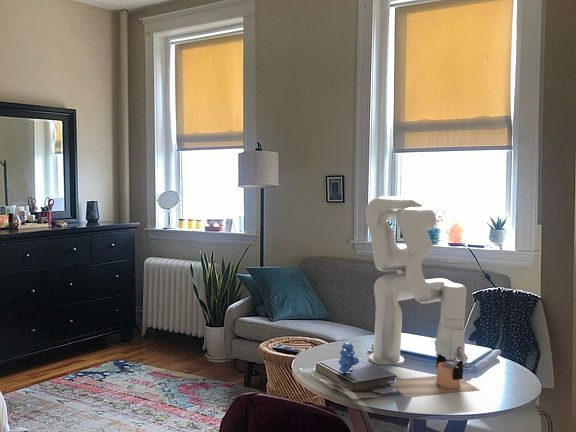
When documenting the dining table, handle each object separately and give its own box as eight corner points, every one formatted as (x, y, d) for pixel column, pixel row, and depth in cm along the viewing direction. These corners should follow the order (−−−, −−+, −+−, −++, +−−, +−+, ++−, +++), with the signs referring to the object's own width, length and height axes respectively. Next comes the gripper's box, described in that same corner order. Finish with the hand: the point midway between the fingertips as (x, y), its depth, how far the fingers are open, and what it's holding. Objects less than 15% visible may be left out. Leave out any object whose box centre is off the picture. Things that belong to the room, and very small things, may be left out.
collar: (432, 380, 192) (433, 362, 191) (451, 378, 194) (452, 361, 193) (444, 388, 185) (445, 370, 184) (463, 386, 187) (464, 368, 187)
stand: (385, 384, 191) (386, 360, 190) (454, 378, 198) (456, 354, 198) (406, 402, 177) (407, 375, 177) (479, 394, 185) (481, 369, 184)
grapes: (354, 384, 190) (355, 348, 189) (334, 381, 192) (335, 345, 191) (362, 372, 201) (364, 338, 200) (343, 369, 203) (345, 336, 202)
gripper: (427, 315, 195) (424, 365, 196) (457, 330, 178) (453, 384, 180) (447, 314, 197) (444, 363, 198) (478, 329, 180) (474, 382, 182)
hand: (448, 373), depth 189 cm, fingers open, 9 cm apart
